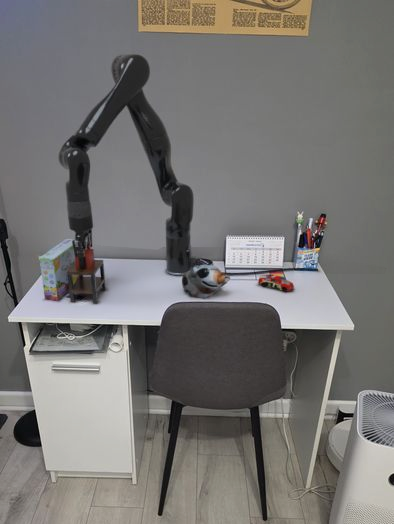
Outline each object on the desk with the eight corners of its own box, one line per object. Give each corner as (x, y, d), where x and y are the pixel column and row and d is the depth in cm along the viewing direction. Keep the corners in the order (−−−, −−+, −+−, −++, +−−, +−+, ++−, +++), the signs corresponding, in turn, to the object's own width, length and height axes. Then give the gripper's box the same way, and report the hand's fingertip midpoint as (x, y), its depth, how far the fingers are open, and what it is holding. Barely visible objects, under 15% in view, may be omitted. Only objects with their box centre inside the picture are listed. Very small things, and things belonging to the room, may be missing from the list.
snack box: (59, 301, 165) (53, 258, 158) (44, 299, 166) (37, 257, 159) (84, 277, 183) (80, 238, 175) (70, 276, 184) (65, 237, 176)
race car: (295, 288, 177) (297, 278, 175) (289, 293, 173) (291, 283, 171) (262, 280, 183) (263, 270, 181) (256, 285, 179) (257, 275, 177)
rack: (106, 289, 174) (103, 259, 169) (97, 303, 164) (93, 272, 159) (81, 288, 175) (77, 258, 169) (70, 302, 165) (66, 271, 159)
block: (94, 263, 166) (93, 249, 163) (90, 268, 162) (89, 254, 159) (80, 262, 166) (78, 248, 164) (76, 267, 162) (74, 253, 159)
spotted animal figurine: (220, 283, 179) (234, 257, 168) (219, 308, 172) (233, 282, 161) (181, 273, 176) (192, 245, 165) (178, 298, 169) (189, 271, 158)
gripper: (84, 220, 149) (90, 273, 157) (97, 208, 161) (102, 257, 170) (60, 219, 149) (67, 272, 158) (75, 207, 162) (80, 256, 170)
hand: (85, 264), depth 164 cm, fingers closed on block, 5 cm apart
